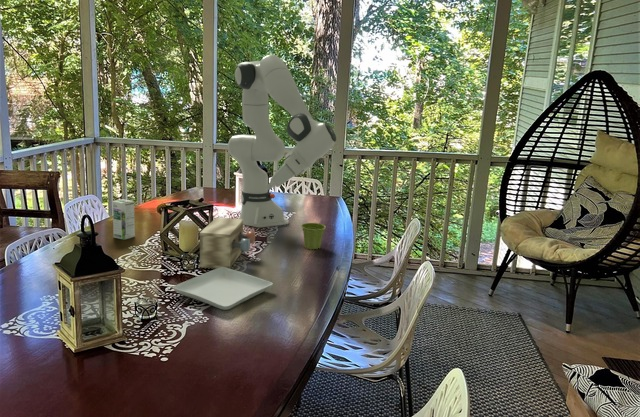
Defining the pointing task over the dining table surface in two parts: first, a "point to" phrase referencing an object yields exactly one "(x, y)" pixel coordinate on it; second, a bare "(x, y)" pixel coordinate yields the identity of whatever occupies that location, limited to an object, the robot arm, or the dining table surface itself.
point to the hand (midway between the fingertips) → (268, 187)
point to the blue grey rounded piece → (242, 245)
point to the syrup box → (123, 219)
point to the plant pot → (313, 235)
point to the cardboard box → (220, 243)
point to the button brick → (248, 236)
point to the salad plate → (223, 287)
